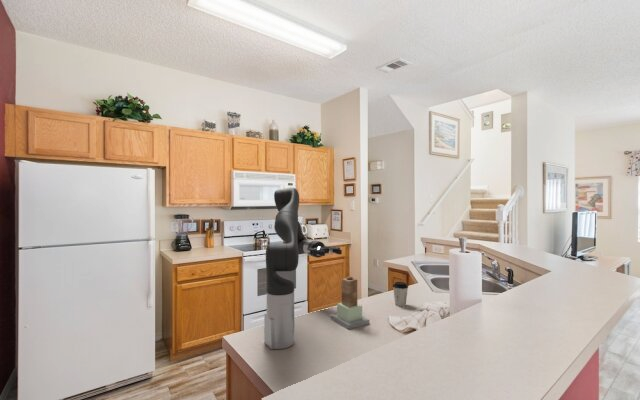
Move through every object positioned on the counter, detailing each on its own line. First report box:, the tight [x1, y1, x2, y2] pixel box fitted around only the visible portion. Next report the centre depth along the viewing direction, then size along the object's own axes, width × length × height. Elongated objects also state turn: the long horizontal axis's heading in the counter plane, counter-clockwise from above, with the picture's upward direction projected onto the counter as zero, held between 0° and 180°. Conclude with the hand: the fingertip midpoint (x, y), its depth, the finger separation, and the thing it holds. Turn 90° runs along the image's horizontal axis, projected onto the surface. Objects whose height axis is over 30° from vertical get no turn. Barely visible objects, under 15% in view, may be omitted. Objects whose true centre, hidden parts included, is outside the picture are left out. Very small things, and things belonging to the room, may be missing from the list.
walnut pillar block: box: [341, 276, 358, 307], centre depth 121 cm, size 4×4×11 cm
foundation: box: [330, 302, 370, 330], centre depth 121 cm, size 10×12×6 cm
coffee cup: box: [392, 281, 409, 308], centre depth 139 cm, size 7×7×10 cm
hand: (332, 252), depth 131 cm, fingers open, 8 cm apart
